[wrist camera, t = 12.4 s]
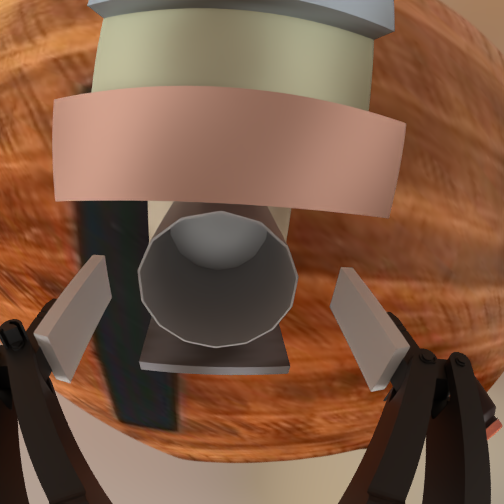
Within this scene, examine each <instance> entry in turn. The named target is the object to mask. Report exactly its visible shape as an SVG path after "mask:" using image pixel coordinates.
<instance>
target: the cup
mask: <svg viewBox="0 0 504 504" xmlns="http://www.w3.org/2000/svg"><path fill="white" fill-rule="evenodd" d="M138 278H139V286H140V294H141V301H142V302H143V304H144V305H145V307H146V308H147V310H148V311H149V312H150V314H151V315H152V317H153V318H154V320H155V321H156V322H157V324H158V325H159V326H160V327H162V328H163V329H165V330H167V331H168V332H170V333H171V334H173V335H175V336H176V337H178V338H179V339H181V340H183V341H184V342H188V343H193V344H197V345H202V346H207V347H213V348H220V347H228V346H235V345H242V344H247V343H249V342H251V341H253V340H255V339H257V338H258V337H260V336H262V335H264V334H266V333H268V332H270V331H272V330H273V329H274V328H275V327H276V326H277V325H278V323H279V322H280V321H281V320H282V318H283V317H284V316H285V315H286V313H287V312H288V311H289V310H290V309H291V307H292V305H293V300H294V296H295V291H296V286H297V282H298V274H297V271H296V268H295V265H294V262H293V259H292V256H291V253H290V250H289V247H288V245H287V243H286V241H285V239H284V237H283V235H282V233H281V231H280V230H279V228H278V226H277V224H276V222H275V220H274V218H273V216H272V214H271V212H270V210H269V209H268V207H267V206H259V205H243V204H226V203H206V202H181V201H174V202H173V203H172V205H171V207H170V208H169V210H168V211H167V213H166V215H165V216H164V218H163V220H162V221H161V223H160V225H159V227H158V228H157V230H156V232H155V234H154V235H153V237H152V239H151V241H150V243H149V245H148V247H147V250H146V252H145V254H144V257H143V259H142V261H141V264H140V266H139V268H138Z"/></svg>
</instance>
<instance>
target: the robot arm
mask: <svg viewBox="0 0 504 504" xmlns="http://www.w3.org/2000/svg"><path fill="white" fill-rule="evenodd" d="M111 298H112V296H111V291H110V285H109V280H108V274H107V268H106V262H105V256H101V255H92V257H91V258H90V259H89V260H88V261H87V262H86V264H85V265H84V266H83V267H82V268H81V270H80V271H79V272H78V273H77V275H76V276H75V277H74V278H73V280H72V281H71V282H70V283H69V285H68V286H67V287H66V288H65V290H64V291H63V292H62V294H61V295H60V296H59V298H58V299H54V298H53V299H52V300H51V301H49V302H48V303H46V304H45V306H44V307H43V308H42V310H41V312H39V314H38V315H37V317H36V318H35V319H34V321H33V322H32V323H31V325H30V326H29V328H28V329H27V331H25V329H24V327H23V325H22V322H21V321H19V320H17V319H12V320H8V321H6V322H4V323H3V324H2V325H1V326H0V340H1V342H2V343H3V345H0V504H29V501H28V497H27V492H26V488H25V482H24V477H23V471H22V464H21V457H20V448H19V436H18V421H19V425H20V428H21V432H22V434H23V438H24V441H25V444H26V447H27V450H28V453H29V456H30V459H31V461H32V464H33V467H34V469H35V471H36V474H37V476H38V479H39V481H40V483H41V486H42V488H43V490H44V492H45V494H46V496H47V498H48V500H49V504H112V502H111V501H110V499H109V498H108V496H107V495H106V494H105V492H104V490H103V489H102V488H101V486H100V484H99V483H98V481H97V479H96V478H95V476H94V475H93V473H92V471H91V469H90V467H89V466H88V464H87V462H86V460H85V458H84V456H83V455H82V453H81V451H80V449H79V447H78V445H77V443H76V441H75V439H74V437H73V434H72V432H71V430H70V428H69V426H68V423H67V421H66V419H65V416H64V414H63V411H62V409H61V406H60V404H59V401H58V399H57V396H56V393H55V390H54V387H53V385H52V382H51V380H50V378H49V376H50V374H51V371H52V372H53V374H54V376H55V377H56V379H57V380H61V381H64V382H68V383H70V382H71V380H72V378H73V375H74V373H75V371H76V369H77V366H78V364H79V362H80V360H81V357H82V355H83V353H84V351H85V349H86V347H87V345H88V343H89V341H90V339H91V336H92V334H93V332H94V330H95V328H96V326H97V324H98V323H99V321H100V319H101V317H102V315H103V313H104V311H105V309H106V307H107V305H108V304H109V302H110V300H111ZM330 308H331V310H332V312H333V314H334V316H335V318H336V320H337V322H338V324H339V326H340V328H341V330H342V332H343V334H344V336H345V338H346V340H347V342H348V344H349V346H350V348H351V350H352V352H353V354H354V357H355V359H356V361H357V363H358V365H359V367H360V369H361V371H362V373H363V375H364V378H365V380H366V382H367V384H368V386H369V388H370V391H371V392H372V391H377V390H382V389H385V388H386V386H387V385H388V383H389V381H391V383H392V385H393V387H392V389H391V390H390V392H389V393H388V395H387V396H386V397H385V399H384V400H383V401H386V400H387V401H386V404H385V407H384V409H383V412H382V415H381V417H380V420H379V422H378V425H377V427H376V430H375V432H374V435H373V437H372V439H371V441H370V444H369V446H368V448H367V450H366V453H365V455H364V457H363V459H362V461H361V463H360V465H359V467H358V469H357V471H356V473H355V475H354V477H353V478H352V480H351V482H350V484H349V486H348V488H347V489H346V491H345V493H344V495H343V496H342V498H341V500H340V501H339V503H338V504H405V500H406V497H407V494H408V492H409V489H410V486H411V484H412V481H413V478H414V475H415V472H416V469H417V466H418V462H419V459H420V455H421V452H422V448H423V445H424V441H425V437H426V466H425V481H424V493H423V501H422V504H491V480H490V463H489V452H488V443H487V435H486V428H485V422H484V416H483V411H482V406H481V401H480V397H479V392H478V388H477V384H476V380H475V376H474V373H473V369H472V366H471V363H470V360H469V359H468V358H467V357H466V355H464V354H462V353H459V352H454V353H452V354H451V355H450V357H449V358H448V360H444V359H437V357H436V356H435V355H434V354H433V353H432V352H431V351H429V350H427V349H420V348H419V347H418V345H417V344H416V342H415V341H414V340H413V338H412V337H411V335H410V334H409V333H408V331H406V328H405V327H404V326H403V324H402V323H401V322H400V320H399V319H398V318H397V317H396V316H395V315H393V314H392V313H391V312H386V311H385V310H384V308H383V307H382V306H381V304H380V303H379V302H378V300H377V299H376V298H375V296H374V295H373V294H372V292H371V291H370V290H369V288H368V287H367V286H366V284H365V283H364V282H363V280H362V279H361V278H360V277H359V275H358V274H357V273H356V271H355V270H354V269H353V268H347V267H341V269H340V272H339V276H338V280H337V283H336V287H335V290H334V294H333V297H332V301H331V304H330Z"/></svg>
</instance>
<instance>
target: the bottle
mask: <svg viewBox="0 0 504 504" xmlns="http://www.w3.org/2000/svg"><path fill="white" fill-rule="evenodd" d="M475 380H476V384H477V388H478V392H479V397H480V401H481V406H482V411H483V416H484V422H485V428H486V435H487V440H488V439H489V438H491V437H492V436H493V435H494V434H495V433H496V432H497V431H499V429H500V428H502V424H501V422H500V421H499V419H498V420H497V418H496V417H495V416H494V415H495V409H496V406H495V404H494V403H493V402H492V400H491V399H490V397H489V396H488V394H487V393H486V391H485V390H484V388H483V387H482V385H481V384H480V383H479V381H478V380H477V378H476V377H475Z"/></svg>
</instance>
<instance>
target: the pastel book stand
mask: <svg viewBox="0 0 504 504" xmlns="http://www.w3.org/2000/svg"><path fill="white" fill-rule="evenodd" d="M87 6H89V7H90V8H91V9H93V10H94V11H95V12H96V13H98V14H99V15H100V16H102V17H103V18H104V19H103V24H102V28H101V33H100V38H99V43H98V49H97V55H96V61H95V68H94V76H93V84H92V93H86V94H80V95H75V96H69V97H64V98H60V99H55V100H54V109H53V134H52V151H53V177H54V190H55V201H90V200H136V201H148V225H149V243H150V241H151V239H152V237H153V235H154V234H155V232H156V230H157V228H158V227H159V225H160V223H161V221H162V220H163V218H164V216H165V215H166V213H167V211H168V210H169V208H170V207H171V205H172V203H173V202H174V201H181V202H206V203H226V204H243V205H259V206H267V207H268V209H269V210H270V212H271V214H272V216H273V218H274V220H275V222H276V224H277V226H278V228H279V230H280V231H281V233H282V235H283V237H284V239H285V241H286V240H287V233H288V227H289V220H290V214H291V208H297V209H309V210H319V211H329V212H339V213H348V214H357V215H366V216H374V217H382V218H389V216H390V212H391V207H392V203H393V199H394V194H395V189H396V185H397V180H398V174H399V169H400V163H401V158H402V152H403V145H404V138H405V131H406V123H404V122H401V121H398V120H395V119H392V118H389V117H385V116H382V115H379V114H376V113H372V112H369V103H370V93H371V82H372V68H373V50H374V40H375V39H377V38H379V37H382V36H384V35H386V34H389V33H391V32H394V31H395V24H394V0H89V2H88V5H87ZM139 363H140V367H141V369H143V370H152V371H163V372H175V373H191V374H215V375H262V374H287V373H288V372H289V369H290V363H289V360H288V356H287V352H286V349H285V345H284V341H283V338H282V334H281V330H280V327H279V323H278V325H277V326H276V327H275V328H274V329H273V330H272V331H270V332H268V333H266V334H264V335H262V336H260V337H258V338H257V339H255V340H253V341H251V342H249V343H247V344H242V345H235V346H228V347H220V348H213V347H207V346H202V345H197V344H193V343H188V342H184V341H183V340H181V339H179V338H178V337H176V336H175V335H173V334H171V333H170V332H168V331H167V330H165V329H163V328H162V327H160V326H159V325H158V324H157V322H156V321H155V320H154V318H153V317H152V318H151V321H150V324H149V328H148V331H147V335H146V338H145V342H144V346H143V349H142V353H141V357H140V361H139Z"/></svg>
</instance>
